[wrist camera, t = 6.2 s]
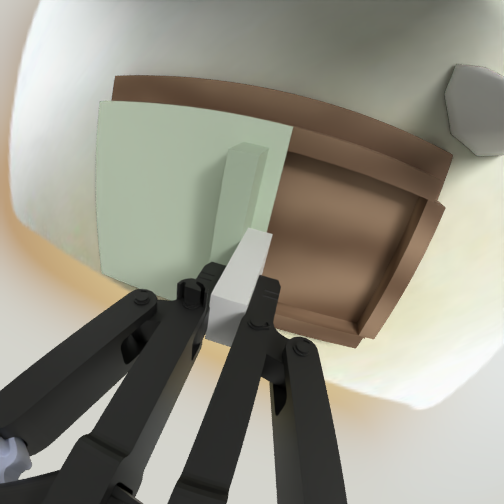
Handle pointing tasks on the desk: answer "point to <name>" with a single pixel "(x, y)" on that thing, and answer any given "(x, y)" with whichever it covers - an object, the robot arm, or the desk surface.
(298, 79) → the desk surface
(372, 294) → the tray
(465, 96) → the flask
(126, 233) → the cover
